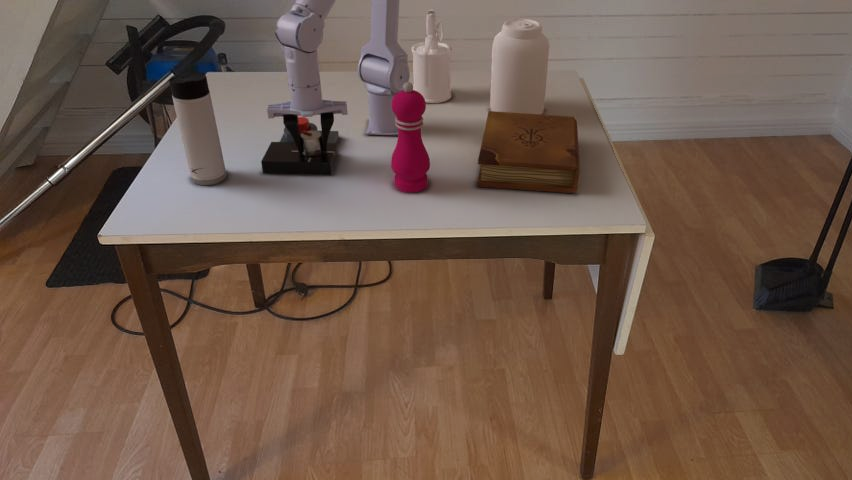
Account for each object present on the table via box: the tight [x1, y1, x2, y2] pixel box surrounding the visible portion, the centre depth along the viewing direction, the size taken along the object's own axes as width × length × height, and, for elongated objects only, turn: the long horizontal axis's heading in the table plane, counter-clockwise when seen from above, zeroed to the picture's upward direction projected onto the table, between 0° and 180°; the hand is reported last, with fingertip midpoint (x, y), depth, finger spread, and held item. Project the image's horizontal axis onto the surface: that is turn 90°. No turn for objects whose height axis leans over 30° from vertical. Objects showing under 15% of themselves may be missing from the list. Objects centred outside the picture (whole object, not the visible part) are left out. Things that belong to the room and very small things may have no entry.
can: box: [489, 18, 550, 115], centre depth 157 cm, size 12×12×20 cm
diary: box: [476, 110, 580, 194], centre depth 140 cm, size 23×19×6 cm
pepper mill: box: [390, 81, 431, 194], centre depth 127 cm, size 7×7×20 cm
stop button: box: [298, 116, 310, 133], centre depth 143 cm, size 4×4×2 cm
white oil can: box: [410, 8, 453, 104], centre depth 162 cm, size 10×9×20 cm
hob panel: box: [260, 141, 339, 176], centre depth 138 cm, size 13×8×3 cm, turn 91°
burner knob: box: [300, 130, 323, 157], centre depth 136 cm, size 4×4×4 cm
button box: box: [279, 122, 340, 144], centre depth 145 cm, size 11×7×4 cm, turn 91°
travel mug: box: [168, 73, 227, 186], centre depth 127 cm, size 6×7×20 cm
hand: (312, 149), depth 137 cm, fingers closed on burner knob, 4 cm apart
